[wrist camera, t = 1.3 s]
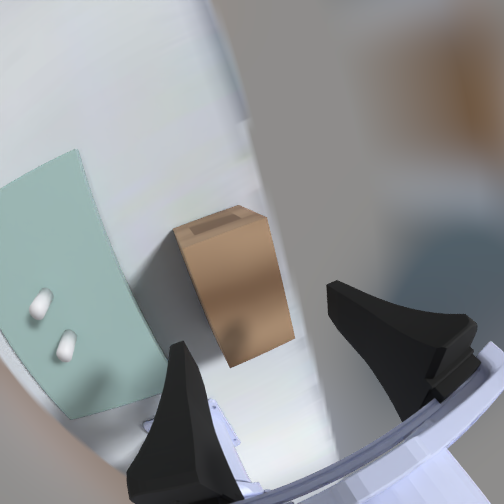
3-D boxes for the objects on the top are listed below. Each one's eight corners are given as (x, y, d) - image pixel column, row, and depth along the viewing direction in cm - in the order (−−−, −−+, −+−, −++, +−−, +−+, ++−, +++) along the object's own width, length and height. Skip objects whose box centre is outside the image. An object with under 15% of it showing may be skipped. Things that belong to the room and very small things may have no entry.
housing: (267, 307, 24) (295, 338, 20) (212, 330, 23) (230, 368, 19) (238, 204, 21) (266, 217, 16) (172, 228, 20) (182, 248, 15)
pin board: (178, 378, 23) (185, 406, 20) (71, 412, 20) (68, 439, 17) (78, 149, 16) (64, 146, 12) (-42, 219, 13) (-65, 230, 9)
